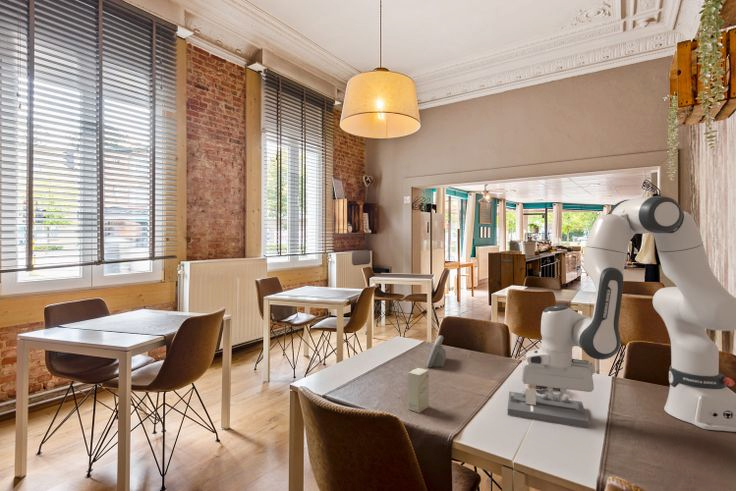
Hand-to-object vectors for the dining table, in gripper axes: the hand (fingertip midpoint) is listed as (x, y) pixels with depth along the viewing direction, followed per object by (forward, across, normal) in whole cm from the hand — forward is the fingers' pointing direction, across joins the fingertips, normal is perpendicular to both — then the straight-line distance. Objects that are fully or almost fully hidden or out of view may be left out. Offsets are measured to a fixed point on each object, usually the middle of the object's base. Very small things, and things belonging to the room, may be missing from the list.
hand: (556, 400), depth 120 cm
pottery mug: (+4, +3, -19) cm, 19 cm away
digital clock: (+4, +46, -32) cm, 57 cm away
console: (+4, +3, 0) cm, 5 cm away
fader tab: (+1, +7, 0) cm, 8 cm away
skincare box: (+4, +41, +13) cm, 43 cm away
